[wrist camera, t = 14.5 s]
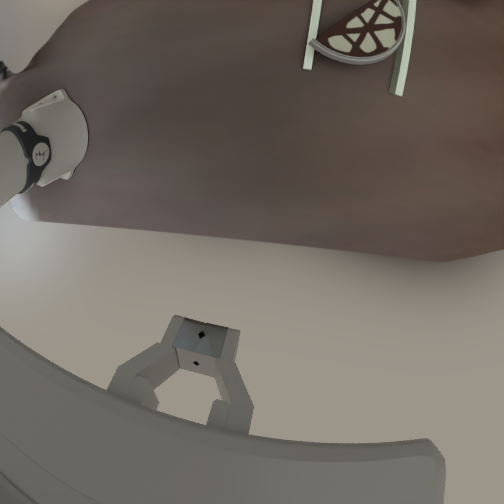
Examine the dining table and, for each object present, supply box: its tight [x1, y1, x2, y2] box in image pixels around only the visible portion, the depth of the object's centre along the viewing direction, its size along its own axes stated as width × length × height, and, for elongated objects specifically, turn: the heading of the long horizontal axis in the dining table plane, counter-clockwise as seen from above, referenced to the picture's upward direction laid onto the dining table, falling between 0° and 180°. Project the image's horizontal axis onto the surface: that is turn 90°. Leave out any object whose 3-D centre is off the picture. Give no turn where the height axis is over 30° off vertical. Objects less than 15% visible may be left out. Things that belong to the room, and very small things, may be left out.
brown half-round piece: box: [308, 0, 406, 65], centre depth 21 cm, size 12×6×10 cm, turn 136°
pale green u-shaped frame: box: [303, 0, 416, 96], centre depth 22 cm, size 13×18×3 cm
